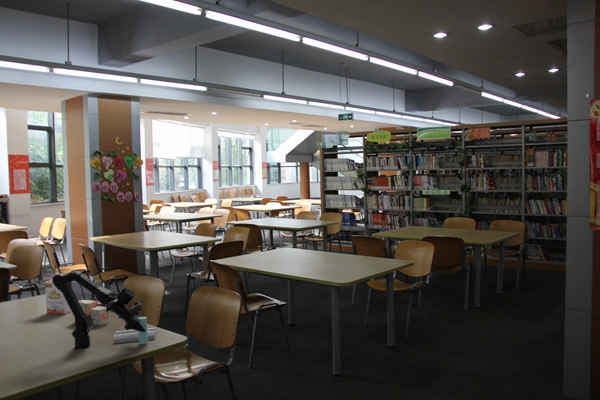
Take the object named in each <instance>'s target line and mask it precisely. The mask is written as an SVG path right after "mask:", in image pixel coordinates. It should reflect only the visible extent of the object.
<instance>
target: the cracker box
mask: <svg viewBox="0 0 600 400" xmlns="http://www.w3.org/2000/svg"><path fill="white" fill-rule="evenodd" d="M44 287H45V301H46V302H45V304H46V313H47V314H54V315H56V314H57V315H66V314H69V313H72V311H71V309H70V307H69V305H68V303H67V301H66V299H65V297H64V295H63V293H62V292H61V291H60V290H58V289H57V288H56V287H55V285H54V284H53V282H52V279H49V280H46V281H45V282H44Z"/></svg>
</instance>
